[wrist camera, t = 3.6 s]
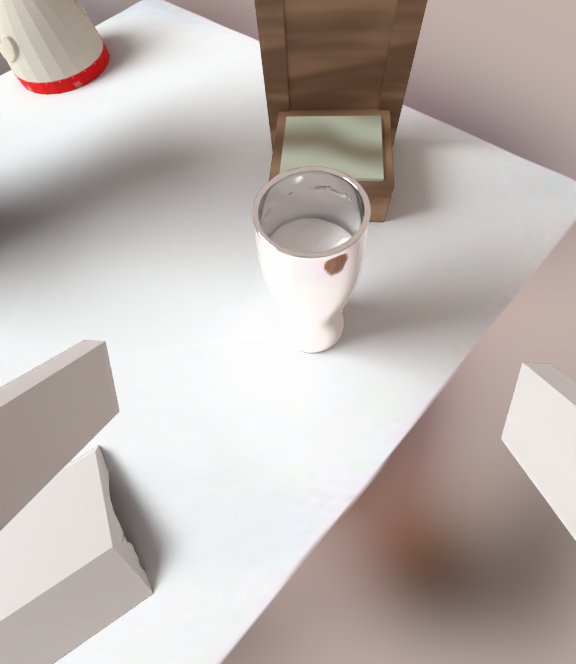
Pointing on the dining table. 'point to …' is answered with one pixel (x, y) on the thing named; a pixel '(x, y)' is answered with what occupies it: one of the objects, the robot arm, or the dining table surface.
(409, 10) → the wooden l-shaped piece
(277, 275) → the white tumbler cup
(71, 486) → the crown molding
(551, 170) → the dining table surface
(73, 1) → the kitchen timer
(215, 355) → the dining table surface
